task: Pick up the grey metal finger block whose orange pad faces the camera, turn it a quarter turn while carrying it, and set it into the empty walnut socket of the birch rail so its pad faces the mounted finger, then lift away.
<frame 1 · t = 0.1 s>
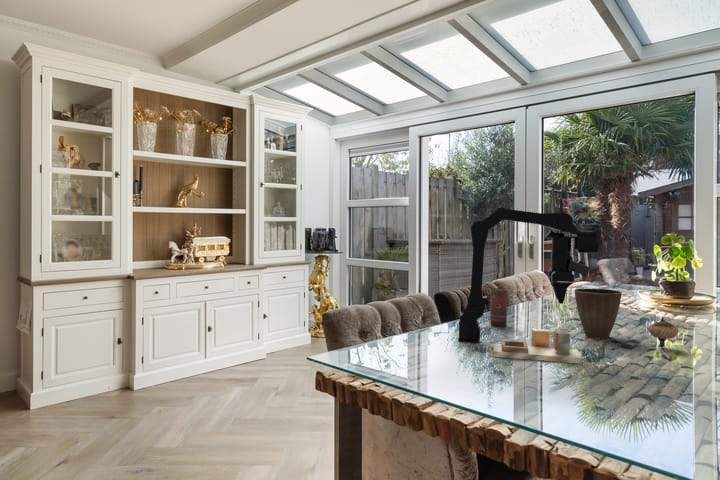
hand: (559, 301, 155), 14 cm above the table, fingers open, 9 cm apart
brown rounded cylinder: (498, 325, 189), on the table
plant pot: (596, 336, 171), on the table
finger: (539, 349, 152), on the table
rail: (535, 355, 144), on the table
lidded footed bowl: (662, 348, 155), on the table
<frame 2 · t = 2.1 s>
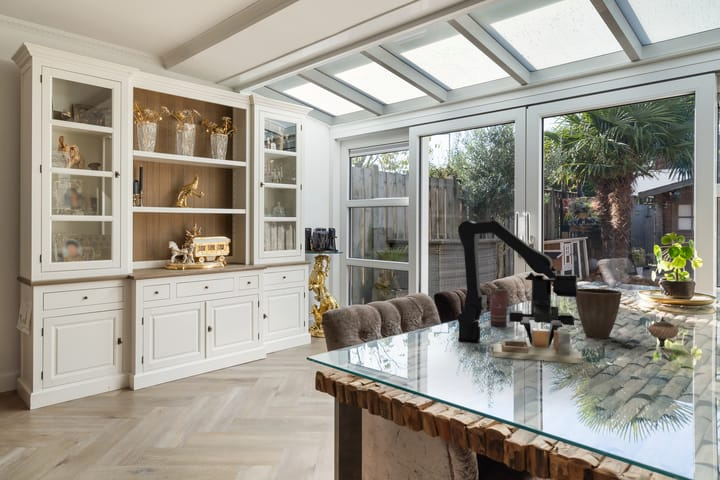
hand: (540, 345, 152), 1 cm above the table, fingers closed on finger, 5 cm apart
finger: (539, 349, 152), on the table, touching gripper
everything else where it was.
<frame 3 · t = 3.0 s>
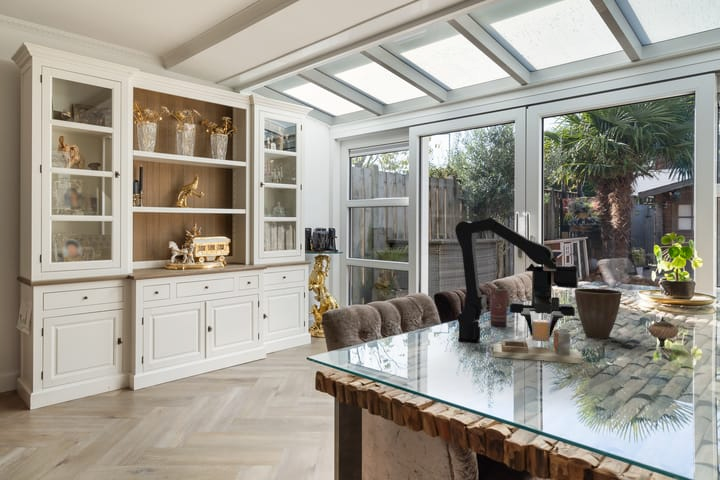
hand: (540, 336, 152), 4 cm above the table, fingers closed on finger, 5 cm apart
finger: (540, 340, 152), point 3 cm above the table, touching gripper
everything else where it was.
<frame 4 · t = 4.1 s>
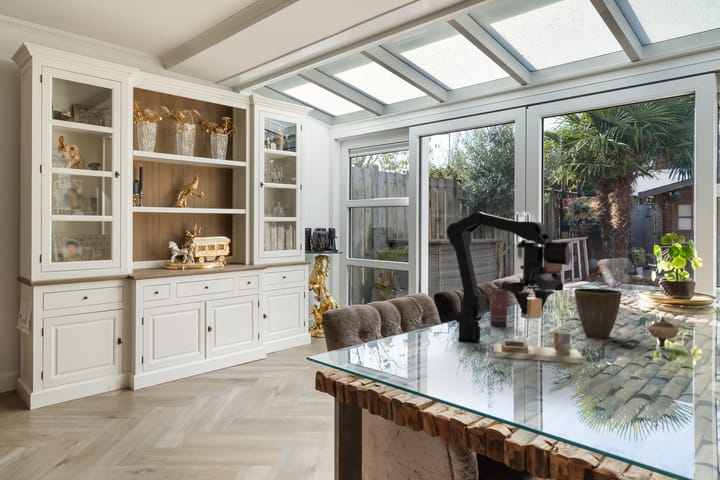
hand: (531, 313, 149), 11 cm above the table, fingers closed on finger, 5 cm apart
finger: (531, 317, 149), point 10 cm above the table, touching gripper
everything else where it was.
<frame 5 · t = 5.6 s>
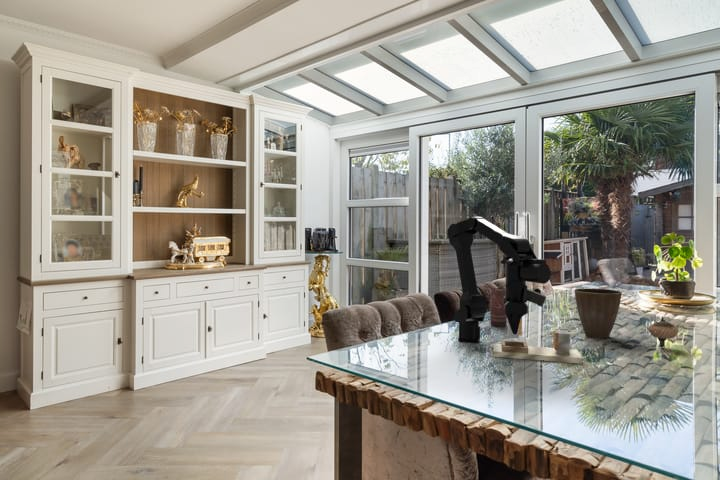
hand: (514, 332, 145), 6 cm above the table, fingers closed on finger, 5 cm apart
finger: (514, 336, 145), point 5 cm above the table, touching gripper
everything else where it was.
when the fingers open (4 cm above the table, at t = 6.5 s): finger drops 1 cm, resting on rail.
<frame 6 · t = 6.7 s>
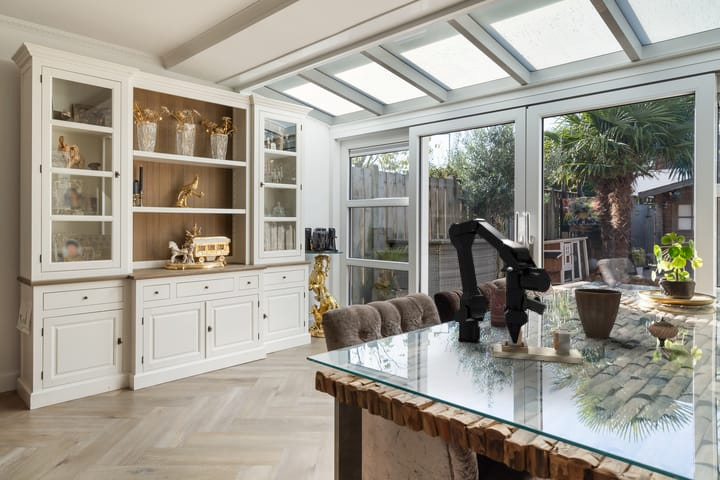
hand: (514, 340, 145), 4 cm above the table, fingers open, 7 cm apart
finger: (514, 349, 145), point 1 cm above the table, touching rail
everything else where it was.
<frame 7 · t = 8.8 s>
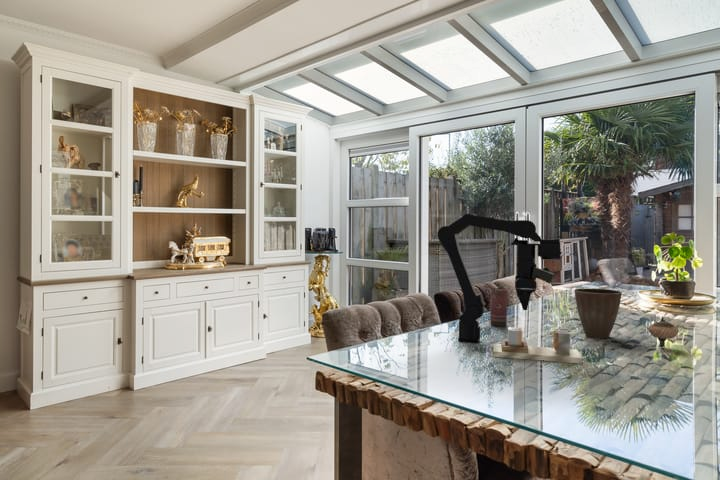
hand: (524, 307, 157), 12 cm above the table, fingers open, 9 cm apart
nothing on the table moved.
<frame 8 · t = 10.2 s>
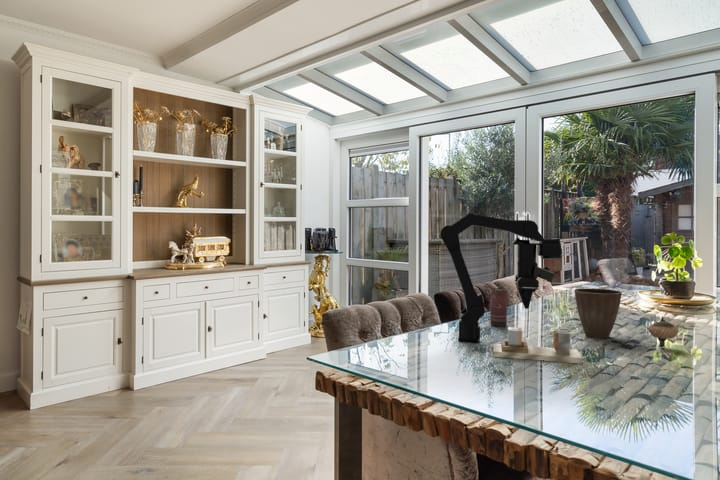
hand: (525, 306, 159), 12 cm above the table, fingers open, 9 cm apart
nothing on the table moved.
at the end: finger 0.0 cm from the target spot on the rail, point 1.5 cm above the rail's base; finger tilted 0°; the gripper is holding nothing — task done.
